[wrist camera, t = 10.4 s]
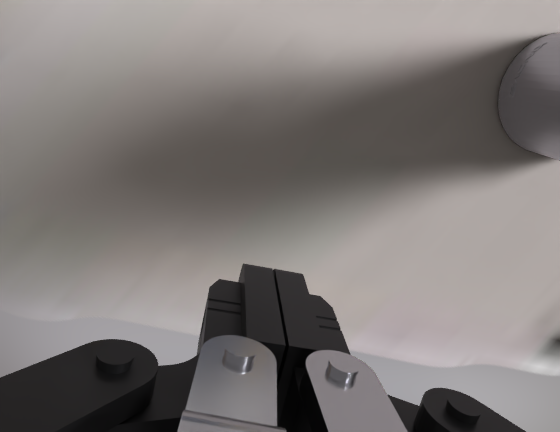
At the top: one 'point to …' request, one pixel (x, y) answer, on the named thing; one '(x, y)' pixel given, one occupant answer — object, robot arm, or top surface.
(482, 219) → the top surface
